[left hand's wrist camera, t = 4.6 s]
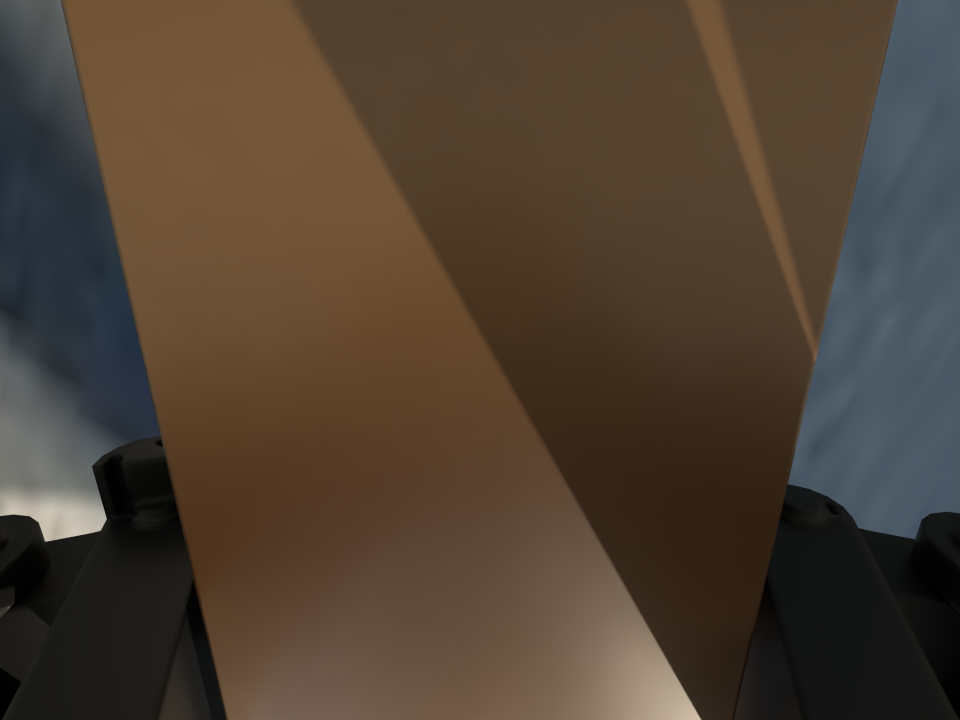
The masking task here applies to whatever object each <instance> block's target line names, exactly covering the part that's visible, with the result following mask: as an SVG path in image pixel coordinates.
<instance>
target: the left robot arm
mask: <svg viewBox="0 0 960 720" xmlns="http://www.w3.org/2000/svg"><path fill="white" fill-rule="evenodd" d="M92 468H93V472H94V475H95V479H96V482H97V486H98V489H99V493H100V496H101V500H102V503H103V507H104V510H105V514H106V517H107V520H106V522H105V524H104V526H103V528H102V530H101V531H98V532H94V533H90V534H85V535H79V536H74V537H69V538H64V539H58V540H53V541H48V542H45V540H44V537H43V534H42V531H41V528H40V525H39V523H38V522H37V521H36V520H34V519H33V518H31V517H30V516H22V515H6V516H0V720H226V719H225V715H224V710H223V706H222V702H221V697H220V693H219V689H218V684H217V680H216V676H215V671H214V667H213V662H212V658H211V654H210V649H209V645H208V641H207V636H206V632H205V627H204V623H203V619H202V614H201V610H200V606H199V601H198V597H197V593H196V588H195V584H194V579H193V575H192V571H191V566H190V562H189V558H188V553H187V549H186V545H185V540H184V536H183V531H182V527H181V523H180V518H179V514H178V510H177V505H176V501H175V497H174V492H173V488H172V483H171V479H170V475H169V470H168V466H167V462H166V457H165V453H164V448H163V444H162V440H161V436H157V437H152V438H147V439H142V440H138V441H135V442H132V443H129V444H126V445H123V446H121V447H118V448H116V449H115V450H113V451H111V452H109V453H107V454H106V455H104V456H102V457H101V458H100V459H99V460H98V461H97V462H96V463H95V464H94V465H93V466H92ZM734 720H960V513H952V512H941V513H932V514H929V515H928V516H927V517H925V518H924V519H922V521H921V524H920V527H919V529H918V532H917V535H916V538H915V539H910V538H905V537H900V536H894V535H889V534H884V533H879V532H873V531H868V530H864V529H860V528H858V527H857V525H856V523H855V521H854V519H853V518H852V516H851V515H850V514H849V513H848V512H847V511H846V509H845V508H844V507H843V506H841V505H840V504H838V503H837V502H835V501H833V500H832V499H830V498H829V497H827V496H825V495H822V494H820V493H817V492H815V491H813V490H810V489H807V488H803V487H798V486H794V485H790V484H787V489H786V493H785V497H784V502H783V506H782V510H781V515H780V519H779V524H778V528H777V532H776V537H775V541H774V545H773V550H772V554H771V559H770V563H769V567H768V572H767V576H766V580H765V585H764V589H763V594H762V598H761V602H760V607H759V611H758V615H757V620H756V624H755V629H754V633H753V637H752V642H751V646H750V650H749V655H748V659H747V664H746V668H745V672H744V677H743V681H742V685H741V690H740V694H739V699H738V703H737V707H736V712H735V716H734Z"/></svg>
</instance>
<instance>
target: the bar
mask: <svg viewBox="0 0 960 720" xmlns="http://www.w3.org/2000/svg"><path fill="white" fill-rule="evenodd" d="M61 3H62V8H63V12H64V16H65V21H66V25H67V29H68V34H69V38H70V42H71V47H72V51H73V56H74V60H75V64H76V69H77V73H78V77H79V82H80V86H81V90H82V95H83V99H84V104H85V108H86V112H87V117H88V121H89V125H90V130H91V134H92V139H93V143H94V147H95V152H96V156H97V160H98V165H99V169H100V173H101V178H102V182H103V187H104V191H105V195H106V200H107V204H108V208H109V213H110V217H111V221H112V226H113V230H114V235H115V239H116V243H117V248H118V252H119V256H120V261H121V265H122V269H123V274H124V278H125V283H126V287H127V291H128V296H129V300H130V304H131V309H132V313H133V318H134V322H135V326H136V331H137V335H138V339H139V344H140V348H141V352H142V357H143V361H144V366H145V370H146V374H147V379H148V383H149V387H150V392H151V396H152V400H153V405H154V409H155V414H156V418H157V422H158V427H159V431H160V435H161V440H162V444H163V448H164V453H165V457H166V462H167V466H168V470H169V475H170V479H171V483H172V488H173V492H174V497H175V501H176V505H177V510H178V514H179V518H180V523H181V527H182V531H183V536H184V540H185V545H186V549H187V553H188V558H189V562H190V566H191V571H192V575H193V579H194V584H195V588H196V593H197V597H198V601H199V606H200V610H201V614H202V619H203V623H204V627H205V632H206V636H207V641H208V645H209V649H210V654H211V658H212V662H213V667H214V671H215V676H216V680H217V684H218V689H219V693H220V697H221V702H222V706H223V710H224V715H225V719H226V720H734V716H735V712H736V707H737V703H738V699H739V694H740V690H741V685H742V681H743V677H744V672H745V668H746V664H747V659H748V655H749V650H750V646H751V642H752V637H753V633H754V629H755V624H756V620H757V615H758V611H759V607H760V602H761V598H762V594H763V589H764V585H765V580H766V576H767V572H768V567H769V563H770V559H771V554H772V550H773V545H774V541H775V537H776V532H777V528H778V524H779V519H780V515H781V510H782V506H783V502H784V497H785V493H786V489H787V484H788V480H789V475H790V471H791V467H792V462H793V458H794V454H795V449H796V445H797V440H798V436H799V432H800V427H801V423H802V419H803V414H804V410H805V405H806V401H807V397H808V392H809V388H810V384H811V379H812V375H813V370H814V366H815V362H816V357H817V353H818V349H819V344H820V340H821V335H822V331H823V327H824V322H825V318H826V314H827V309H828V305H829V300H830V296H831V292H832V287H833V283H834V279H835V274H836V270H837V265H838V261H839V257H840V252H841V248H842V244H843V239H844V235H845V230H846V226H847V222H848V217H849V213H850V209H851V204H852V200H853V195H854V191H855V187H856V182H857V178H858V174H859V169H860V165H861V160H862V156H863V152H864V147H865V143H866V139H867V134H868V130H869V125H870V121H871V117H872V112H873V108H874V103H875V99H876V95H877V90H878V86H879V82H880V77H881V73H882V68H883V64H884V60H885V55H886V51H887V47H888V42H889V38H890V33H891V29H892V25H893V20H894V16H895V12H896V7H897V3H898V0H61Z"/></svg>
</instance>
